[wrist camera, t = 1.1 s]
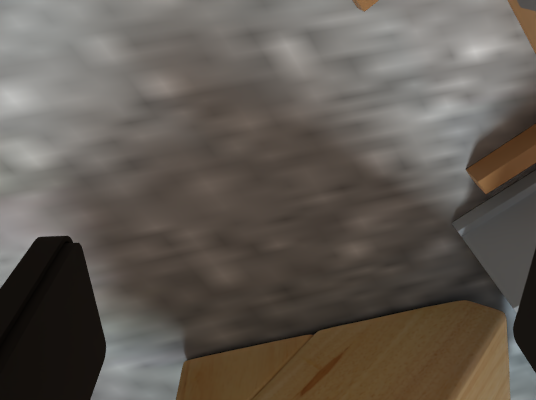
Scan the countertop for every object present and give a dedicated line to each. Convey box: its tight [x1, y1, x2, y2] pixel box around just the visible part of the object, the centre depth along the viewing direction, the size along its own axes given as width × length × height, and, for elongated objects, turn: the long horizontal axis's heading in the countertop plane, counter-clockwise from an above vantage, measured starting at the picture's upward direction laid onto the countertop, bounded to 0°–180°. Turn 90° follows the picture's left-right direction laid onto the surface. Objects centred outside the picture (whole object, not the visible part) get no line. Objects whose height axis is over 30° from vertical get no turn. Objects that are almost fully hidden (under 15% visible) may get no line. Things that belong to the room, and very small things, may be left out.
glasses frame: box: [353, 0, 536, 194], centre depth 28 cm, size 9×16×5 cm, turn 39°
